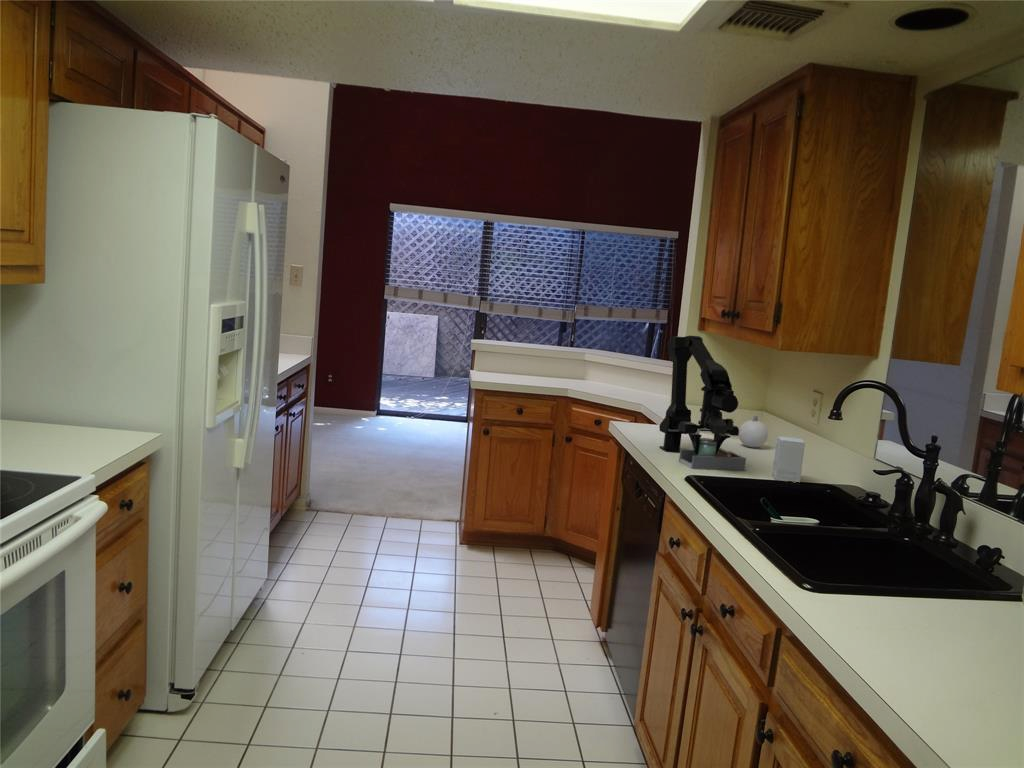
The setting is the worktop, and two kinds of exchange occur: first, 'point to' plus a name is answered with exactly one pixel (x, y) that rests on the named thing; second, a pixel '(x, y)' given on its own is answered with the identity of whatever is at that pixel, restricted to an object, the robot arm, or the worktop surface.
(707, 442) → the jar
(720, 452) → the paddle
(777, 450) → the supplement box
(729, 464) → the gray tray
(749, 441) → the ornament
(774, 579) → the worktop surface
